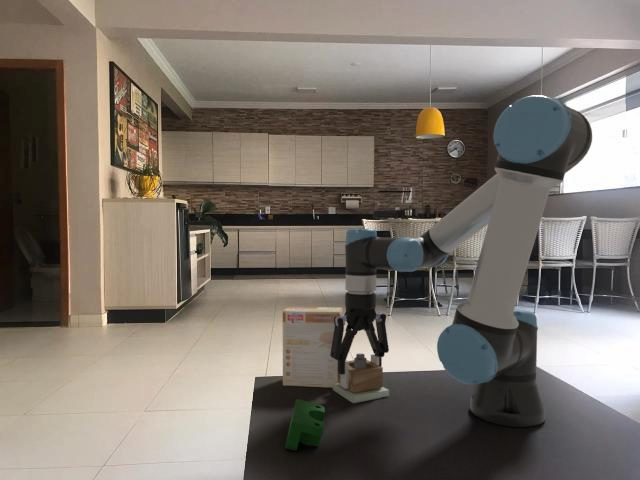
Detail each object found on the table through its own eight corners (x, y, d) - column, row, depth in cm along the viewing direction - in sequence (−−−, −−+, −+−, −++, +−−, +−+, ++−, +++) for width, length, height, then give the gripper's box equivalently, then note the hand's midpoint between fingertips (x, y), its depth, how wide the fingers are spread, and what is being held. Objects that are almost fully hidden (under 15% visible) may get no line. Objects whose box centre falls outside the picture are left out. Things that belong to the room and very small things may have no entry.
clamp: (312, 472, 86) (323, 437, 82) (280, 463, 86) (290, 428, 82) (319, 422, 97) (329, 389, 93) (291, 415, 97) (300, 382, 93)
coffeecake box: (343, 379, 124) (343, 307, 124) (340, 389, 117) (340, 311, 117) (288, 377, 126) (288, 305, 126) (282, 386, 119) (282, 310, 119)
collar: (382, 387, 113) (382, 367, 112) (353, 392, 109) (354, 371, 109) (364, 377, 120) (364, 358, 120) (337, 382, 116) (337, 362, 116)
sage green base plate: (388, 396, 112) (389, 357, 112) (353, 403, 108) (353, 362, 107) (366, 383, 121) (366, 347, 121) (332, 389, 116) (332, 352, 116)
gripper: (387, 287, 122) (386, 374, 122) (315, 292, 112) (315, 385, 113) (404, 291, 115) (403, 382, 116) (330, 296, 106) (329, 396, 106)
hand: (359, 384), depth 114 cm, fingers closed on collar, 8 cm apart
